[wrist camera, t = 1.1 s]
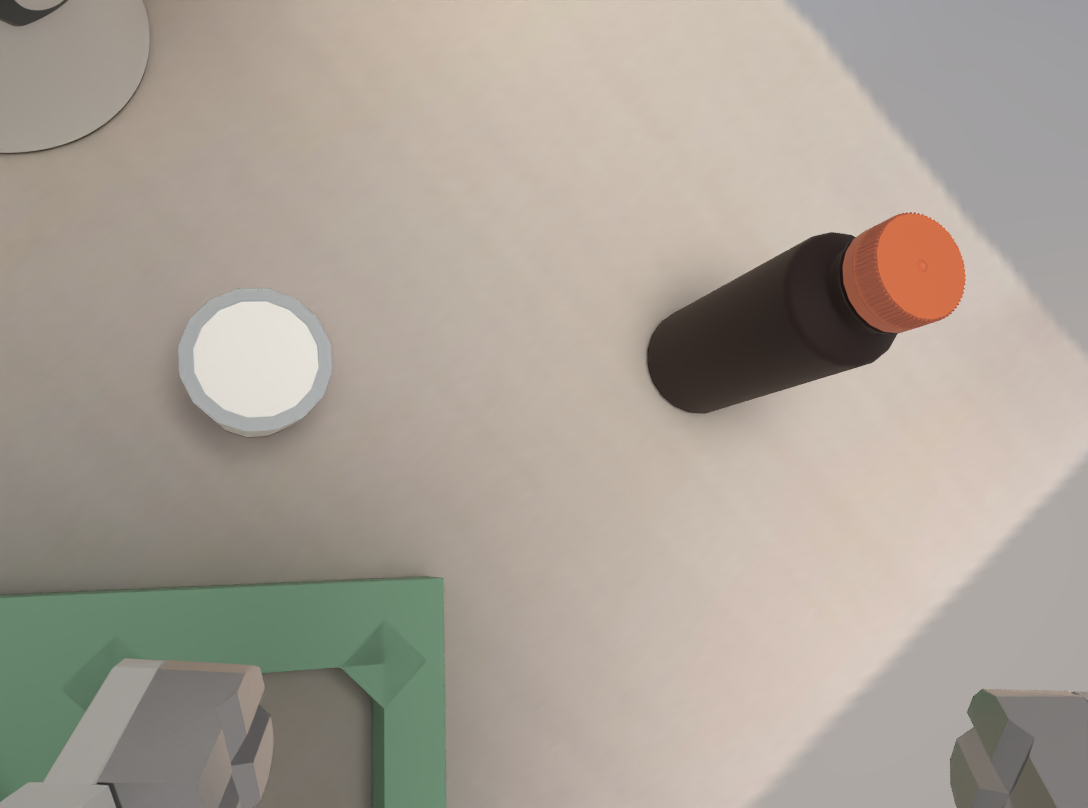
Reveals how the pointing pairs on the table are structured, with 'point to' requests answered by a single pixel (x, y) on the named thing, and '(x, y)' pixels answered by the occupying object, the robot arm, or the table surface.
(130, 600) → the green cutout tray
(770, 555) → the table surface
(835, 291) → the bottle
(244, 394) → the white cup
